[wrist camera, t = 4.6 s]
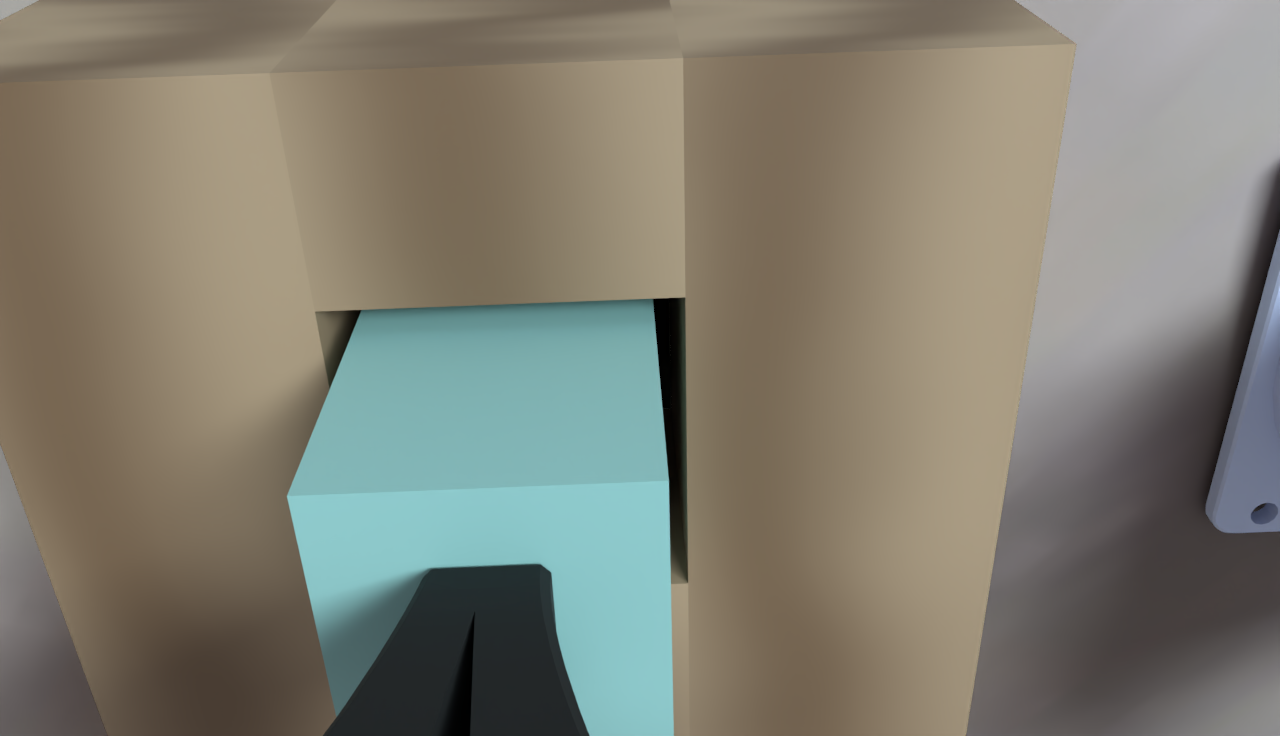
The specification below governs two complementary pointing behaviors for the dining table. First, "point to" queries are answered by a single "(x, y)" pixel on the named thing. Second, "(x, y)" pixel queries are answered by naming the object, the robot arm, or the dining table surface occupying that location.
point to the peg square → (498, 487)
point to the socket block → (518, 274)
